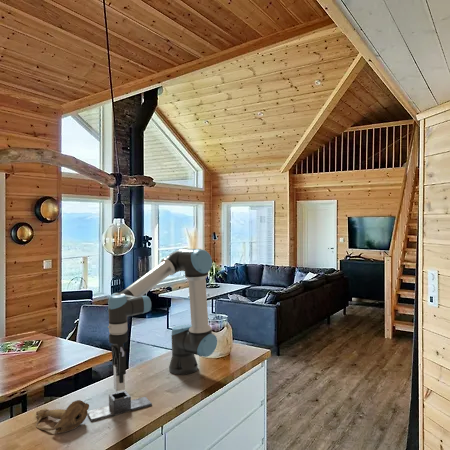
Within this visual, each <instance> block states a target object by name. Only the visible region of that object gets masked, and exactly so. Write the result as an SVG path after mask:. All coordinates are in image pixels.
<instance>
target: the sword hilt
mask: <svg viewBox="0 0 450 450" xmlns="http://www.w3.org/2000/svg"><path fill="white" fill-rule="evenodd" d="M89 409H90V404H89V403H88V402H84V401H82V400H81V399H79V400H78V399H77V400H74V401H72V402H71V403H70V404H69V405H68V407H66V409H64V408H63V409H62V408H61V409H59V408H58V409H48V408H41V409H39V410H37V411H36V413H35V414H36V416H37V418H36V419H37V421H36V423H35V427H36V428H37V429H38V430H42V431H47V432H48V431H49V432H50V431H54V433H55V434H59V433H67V432H69V431H73V430H75V429H76V428H78V427H79V426H80V425H82V424H83V423H84V421H85V420H86V418H88V415H87V411H89ZM47 417H50V418H52V419H55V420H58V422H57V423H56V424H55V425H54V426H53V427H51V428H50V427H45V426H44V427H43V426H38V425H39V423H40V422H41V420H42V419H45V418H47Z"/></svg>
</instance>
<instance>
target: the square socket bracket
mask: <svg viewBox="0 0 450 450" xmlns="http://www.w3.org/2000/svg"><path fill="white" fill-rule="evenodd" d="M152 406H153V404H152V402H151V401H150V400H149V399H148V398H147V396H142V397H139V398H136V399H135V398H134V399H132V396H131V395H130V394H129V392H127V390H125V389H124V390H120V391H116V392H113V393H110V394H108V405H107V406H103V407H99V408H98V407H97V408H95V409H91V410H87V417H88V418H89V420H90V422H92V423H93V422H95V421H99V420H103V419H107V418H110V417H114V416H116V415H120V414H124V413H128V412H133V411H137V410H141V409H145V408H149V407H152Z"/></svg>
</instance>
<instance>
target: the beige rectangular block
mask: <svg viewBox="0 0 450 450" xmlns="http://www.w3.org/2000/svg"><path fill="white" fill-rule="evenodd" d="M113 367H114V368H113ZM113 367H112V368H113V389H114V390H115V392H118V391H117V376H116V374H118V368H117V364H115V365H113ZM125 377H126V374H124V390H125V389H126V378H125Z"/></svg>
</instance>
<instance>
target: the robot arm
mask: <svg viewBox="0 0 450 450" xmlns="http://www.w3.org/2000/svg"><path fill="white" fill-rule="evenodd" d="M212 266H213V259H212V256H211V254H210V253H209V252H208V251H207V250H205V249H200V248H179V249H176V250H175V251H173V252H172V253H170V254H168V255H167V256H165V257H164V258H162V259H161V261H160V263H159V264H157V265H156V266H154V267H153V268H152V269H151V270H149V271H148V272H146V273H145V274H144V275H142V276H141V277H140V278H138V279H137V280H136V281H134V282H133V283H131V284H130V285H129V286H127V287H125V289H123V290H122V291H120V292H114V293H112V294H111V295H110V296H109V298H108V303H107V304H108V306H107V308H108V309H107V310H108V312H107V313H108V326H107V329H108V332H109V334H108V342H109V344H111V346H110V347H111V361H112V363H111V365H112V366H111V367H112V369H114V367H113V365H115V364H117V368H118V374H116V376H117V391H116V392H121V391H125V389H124V374H125V375H126V374H127V367H126V366H127V364H126V363H127V351H126V350H125V349H126V348H125V346H124V343H127V342H128V317H132V316H137V315H143V314H145V313H148V312H150V311H151V309H152V301H151V298H150V297H149V296H147V295H145V294H147V293H148V292H149V291H150V290H152V289H153V288H154V287H156V286H157V285H158V284H160V283H161V282H162V281H164V280H165V279H166V278H168V277H169V276H174V275H175V274H176V273H178V272H184V277H185V279H187V280H188V293H189V295H188V296H189V307H190V308H189V310H190V324H183V325H177V326H175V327H173V328H171V358H170V362H169V365H168V371H169V372H170V373H171V374H174V375H189V374H193V373H195V372H197V371H198V369H199V367H198V362H197V359H196V356H199V357H204V358H207V357H210V356H211V355H213V353H214V352H215V350H216V349H217V347H218V346H217V345H218V338H217V336H216V335H215V334H213V332H212V331H213V327H212V326H210V325H209V315H208V314H209V312H208V300H207V299H208V298H207V296H208V295H207V283H206V282H207V281H206V279H207V277H208V276H209V272H210V271H211V269H212ZM195 355H196V356H195Z"/></svg>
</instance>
